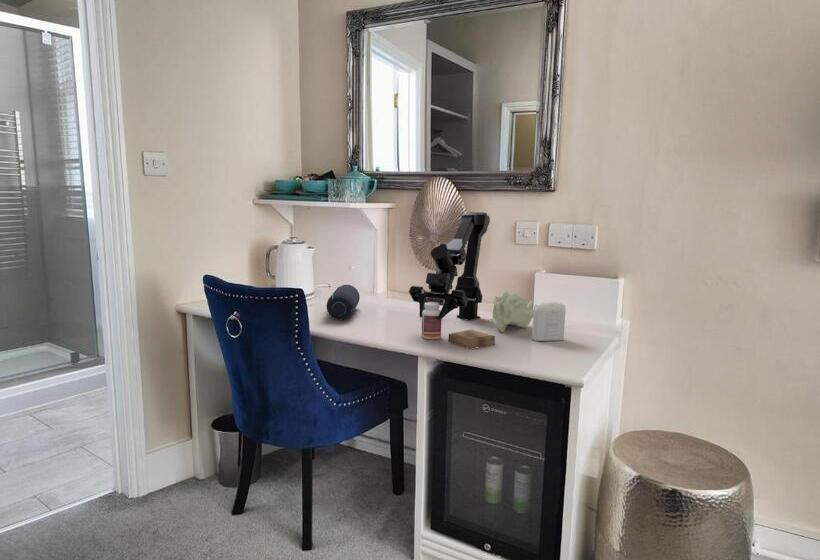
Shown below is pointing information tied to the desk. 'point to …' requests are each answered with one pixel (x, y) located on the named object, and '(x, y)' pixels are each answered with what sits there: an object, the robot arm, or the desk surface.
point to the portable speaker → (343, 302)
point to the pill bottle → (431, 321)
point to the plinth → (471, 338)
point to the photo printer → (548, 321)
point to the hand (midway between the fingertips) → (429, 318)
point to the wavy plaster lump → (511, 311)
